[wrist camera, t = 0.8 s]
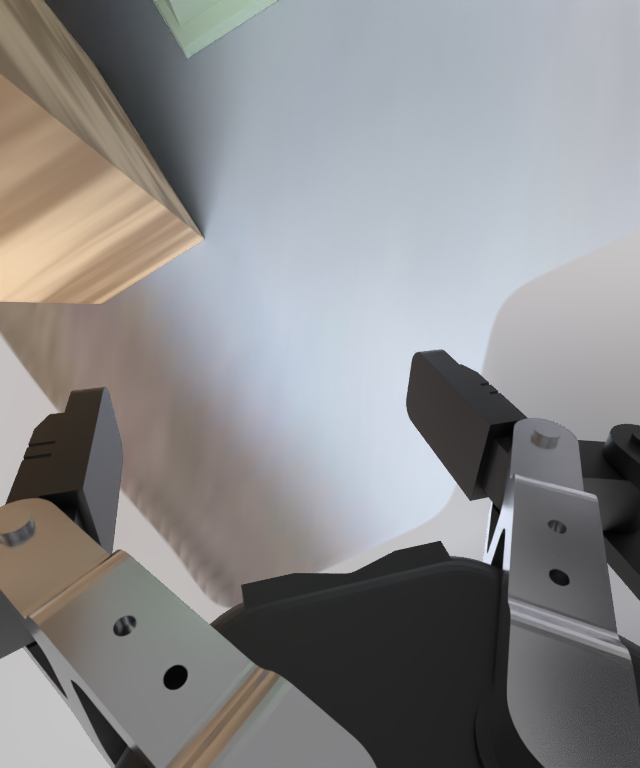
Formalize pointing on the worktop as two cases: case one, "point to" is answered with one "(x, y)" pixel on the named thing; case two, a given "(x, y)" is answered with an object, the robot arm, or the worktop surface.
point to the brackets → (205, 19)
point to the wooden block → (73, 173)
